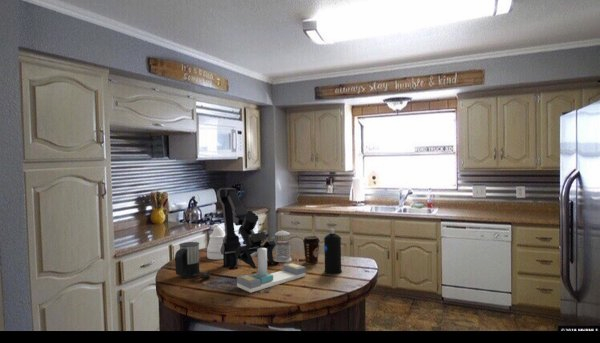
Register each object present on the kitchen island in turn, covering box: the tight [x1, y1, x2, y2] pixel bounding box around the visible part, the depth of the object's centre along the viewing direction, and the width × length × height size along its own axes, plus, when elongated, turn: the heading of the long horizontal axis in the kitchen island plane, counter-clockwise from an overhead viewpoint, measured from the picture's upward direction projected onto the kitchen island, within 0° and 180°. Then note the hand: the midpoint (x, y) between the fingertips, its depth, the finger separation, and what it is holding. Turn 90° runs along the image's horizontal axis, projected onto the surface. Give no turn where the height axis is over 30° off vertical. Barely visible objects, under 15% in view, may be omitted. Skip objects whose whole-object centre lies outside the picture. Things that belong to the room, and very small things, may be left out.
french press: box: [269, 212, 293, 263], centre depth 193 cm, size 10×12×25 cm
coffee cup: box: [302, 235, 321, 265], centre depth 186 cm, size 9×8×13 cm
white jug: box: [206, 223, 225, 260], centre depth 202 cm, size 13×13×18 cm
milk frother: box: [174, 241, 212, 279], centre depth 166 cm, size 14×16×15 cm
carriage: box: [251, 248, 273, 283], centre depth 154 cm, size 6×7×13 cm
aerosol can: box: [323, 228, 343, 275], centre depth 170 cm, size 8×8×20 cm
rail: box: [236, 262, 307, 294], centre depth 158 cm, size 30×10×4 cm, turn 132°
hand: (264, 265), depth 153 cm, fingers open, 9 cm apart
